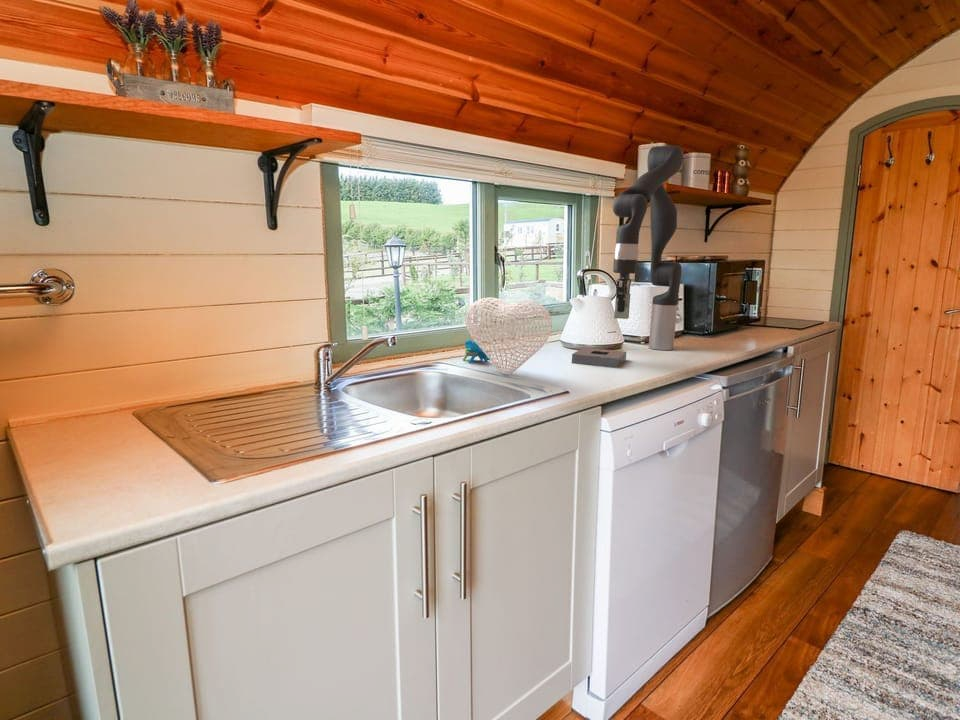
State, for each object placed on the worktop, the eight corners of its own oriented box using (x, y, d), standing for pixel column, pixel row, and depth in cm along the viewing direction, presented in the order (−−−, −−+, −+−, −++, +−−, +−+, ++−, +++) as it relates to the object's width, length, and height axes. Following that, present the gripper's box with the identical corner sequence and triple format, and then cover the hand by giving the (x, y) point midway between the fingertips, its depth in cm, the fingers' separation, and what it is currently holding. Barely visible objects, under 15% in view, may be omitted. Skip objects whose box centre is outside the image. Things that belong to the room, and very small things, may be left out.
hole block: (583, 355, 206) (583, 347, 206) (625, 360, 200) (626, 351, 200) (571, 362, 193) (572, 354, 192) (617, 367, 187) (617, 358, 186)
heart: (559, 378, 169) (563, 302, 165) (526, 386, 158) (529, 304, 154) (488, 363, 188) (490, 294, 184) (454, 369, 177) (455, 296, 173)
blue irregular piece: (498, 358, 188) (478, 338, 183) (488, 372, 186) (468, 352, 181) (478, 357, 197) (460, 338, 192) (469, 371, 195) (450, 351, 190)
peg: (616, 316, 194) (618, 292, 192) (628, 317, 192) (630, 293, 191) (614, 318, 190) (616, 293, 189) (626, 318, 189) (628, 294, 187)
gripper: (617, 257, 196) (614, 308, 199) (610, 257, 183) (606, 312, 186) (640, 258, 193) (636, 310, 196) (634, 258, 180) (630, 314, 183)
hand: (621, 311), depth 191 cm, fingers closed on peg, 4 cm apart
